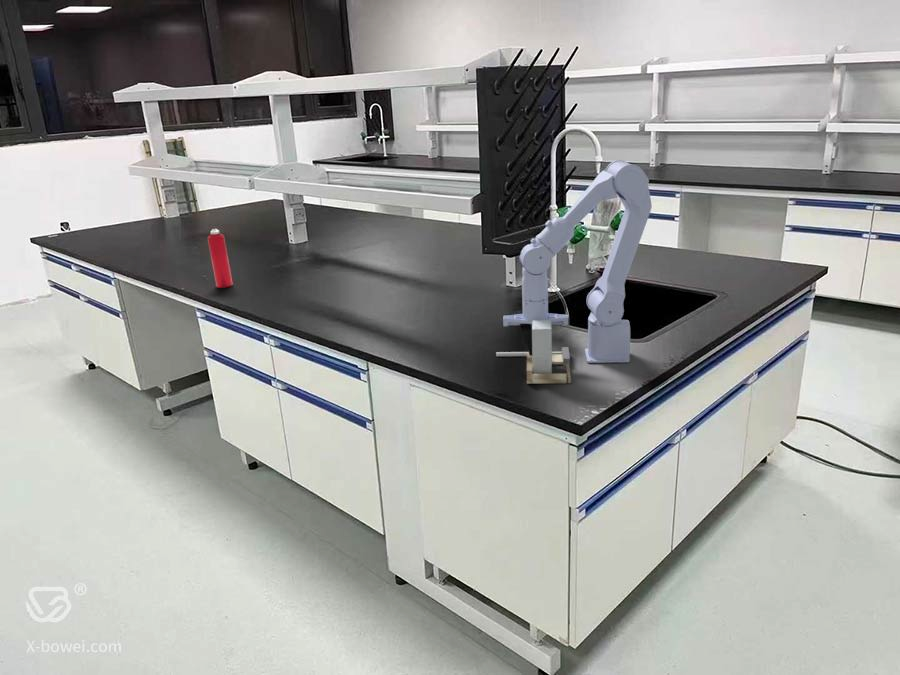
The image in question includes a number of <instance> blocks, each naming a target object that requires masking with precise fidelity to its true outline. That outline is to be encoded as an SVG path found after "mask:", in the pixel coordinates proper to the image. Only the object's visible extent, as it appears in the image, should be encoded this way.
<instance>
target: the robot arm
mask: <svg viewBox="0 0 900 675" xmlns="http://www.w3.org/2000/svg"><path fill="white" fill-rule="evenodd" d="M649 179H650V178H648V176H647V175H646V173H645V171H644V170H643V169H642V167H640V166H638V165H637V164H631V163H629V162H627V161H625V160H622V159H617V160H614V161H612V162H609V164H608V165H607V166H606V168H605V169H604V170H602V171H601V172H600V173H598V175H597V176H596V177H595V178H594V180H593V181H592V182H591V183H590V184H589V186H588V187H587V188H586V189H585V190H584V192H583V193H581V195H580V196H579V198H577V200H576V201H575V202H574V203H573V205H571V207H570V208H569V209H568V210H567V212H566V213H565V214H564V215H563V216H559V217H554V218H553V219H552V220H550V219H548V220H547V221H546V222H545V223H544V224H545V228H544V229H542V230H541V232H539V234H538V235H537V236H536V237H535V238H534V237H532V238H531V240H530V244H529V243H528V244H526V245H524V247H522V250H521V251H520V255H519V256H518V258H519V262H520V263H521V265H522V269H521V270H522V271H521V275H522V278H521V294H522V296H521V299H522V303H521V304H522V313H517V314H510V315H503V318H502V322H503V324H502V325H503V327H509V326H519V328H520V330H519V331H520V333H521V335H522V337H523V338H524V340H525V343H526V345H527V348H528V352H529V355H530V356H532V321H533V320H551V325H563V326H569V316H568V314H564V313H563V314H559V313H551V312H550V313H549V281H548V280H549V278H548V270H549V268H550V267H551V263H552V261H551V260H552V258H554V257H555V256H556V255H557V254H558V253H559V252H560V251H561V250H562V249H563V248H564V247H565V245H567V244H568V242H570V240H571V239H572V238H573V237H574V236H575V227H577V225H578V224H579V223H580V222H581V221H582V220H583V219H584V218H586V216H588V214H589V213H591V212H592V210H593V209H595V208H596V207H597V206H598V205H599V204H600V203H601V202H603V201H607V200H613V199H617V198H618V199H619V200H620V202H621V203H622V206H623V207H624V212H623V214H622V216H621V220H620V223H619V226H618V229H617V232H616V235H615V238H614V240H613V243H612V247H611V249H610V252H609V255H608V257H607V261H606V263H605V264H606V265H605V267H604V270H603V273H602V276H600V277H599V278H598V279H597V280H596V282H595V284H594V287H593V288H592V289H591V290H590V292H588V293H587V296H586V305H587V307H588V309H589V310H590V314H589V316H588V318H587V326H588V327H587V348H584V353H585V358H586V362H587V363H589V364H593V363H594V364H596V363H600V364H601V363H602V364H603V363H605V364H606V363H607V364H609V363H630V361H631V359H630V351H631V325H630V324H631V323H630V321H629V320H628V319H622V318H623V316H624V312H625V309H624V302H625V301H624V300H625V298H626V291H625V290H626V288H625V284H626V280H627V279H628V275H629V273H630V270H631V267H632V263H633V261H634V258H635V256H636V253H637V251H638V248H639V244H640V242H641V239H642V236H643V233H644V230H645V228H646V224H647V222H648V219H649V216H650V213H651V211H652V206H653V205H652V200H651V194H650V189H649V188H650V187H649V182H650V180H649Z"/></svg>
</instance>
